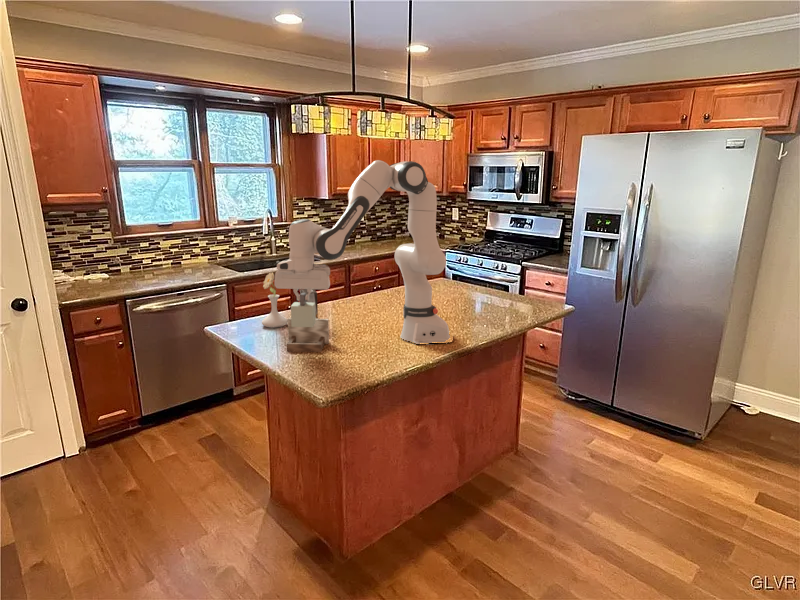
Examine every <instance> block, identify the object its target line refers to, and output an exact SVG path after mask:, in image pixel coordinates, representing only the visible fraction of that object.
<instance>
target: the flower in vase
mask: <svg viewBox="0 0 800 600" xmlns="http://www.w3.org/2000/svg"><path fill="white" fill-rule="evenodd" d="M274 280H275V273H274V272H273V271H272V272H269V273H268V274H267V275H266V276H265V279H264V281H262V282H263V286H262V288H263V289H264V290H266V289H269V291H270V292H271V293H272V294H269V295H267V298H268V299H269V301H270V303H271V304H270V305H271V311H270V313H269V314H268V315H267V316H265V317H264V318H263V319H262V321H261V325H262V326H264V327H267V328H282V327H283V326H286V325H288V318H286V317H285V316H284V315H282V314H281V313H279V311H278V308H277V307H278V299H279V297H280V294H276V293H277V289H276V287H275V284H274V283H273V282H274Z"/></svg>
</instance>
